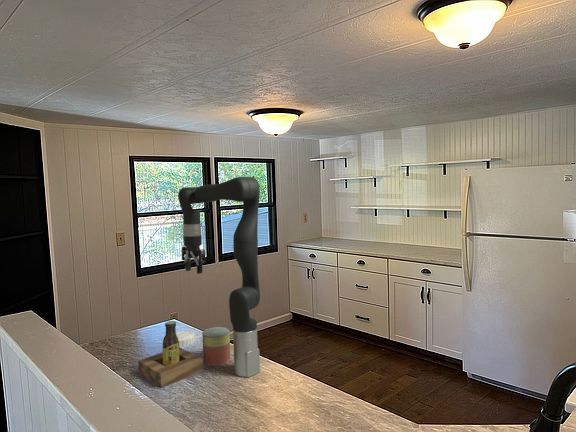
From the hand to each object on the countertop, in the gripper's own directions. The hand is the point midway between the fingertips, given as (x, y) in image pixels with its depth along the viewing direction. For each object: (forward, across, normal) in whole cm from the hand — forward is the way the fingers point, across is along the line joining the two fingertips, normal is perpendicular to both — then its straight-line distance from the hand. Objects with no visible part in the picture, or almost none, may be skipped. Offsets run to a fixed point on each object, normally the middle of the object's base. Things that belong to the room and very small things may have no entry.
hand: (193, 272), depth 183 cm
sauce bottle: (+36, -9, +18) cm, 41 cm away
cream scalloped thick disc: (+36, +16, -3) cm, 40 cm away
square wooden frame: (+36, -8, +18) cm, 40 cm away
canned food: (+36, -12, -1) cm, 38 cm away
